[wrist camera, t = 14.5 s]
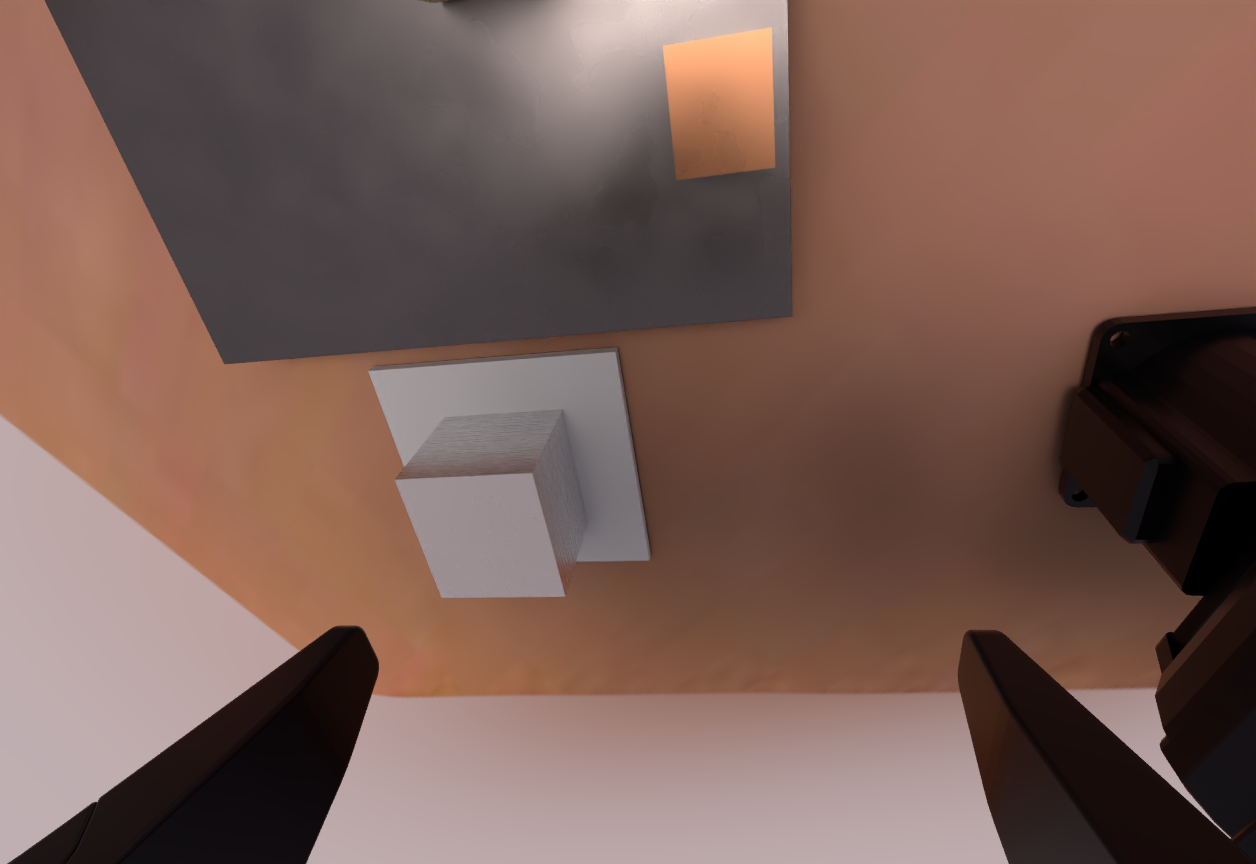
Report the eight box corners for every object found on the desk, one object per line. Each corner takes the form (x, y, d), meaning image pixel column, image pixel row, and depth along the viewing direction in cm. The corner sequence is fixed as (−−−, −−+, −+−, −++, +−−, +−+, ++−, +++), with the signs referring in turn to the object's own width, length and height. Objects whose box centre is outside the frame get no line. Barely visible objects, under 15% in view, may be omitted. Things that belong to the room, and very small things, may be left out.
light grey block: (562, 408, 22) (531, 473, 19) (588, 521, 25) (565, 596, 21) (444, 417, 23) (394, 479, 20) (480, 525, 26) (441, 598, 22)
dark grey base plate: (776, -137, 15) (797, -227, 10) (785, 287, 19) (802, 361, 15) (125, 4, 18) (-88, -12, 13) (271, 335, 23) (153, 407, 18)
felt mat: (617, 347, 21) (615, 351, 21) (650, 553, 26) (649, 560, 25) (373, 366, 23) (368, 371, 23) (443, 557, 27) (440, 563, 27)
